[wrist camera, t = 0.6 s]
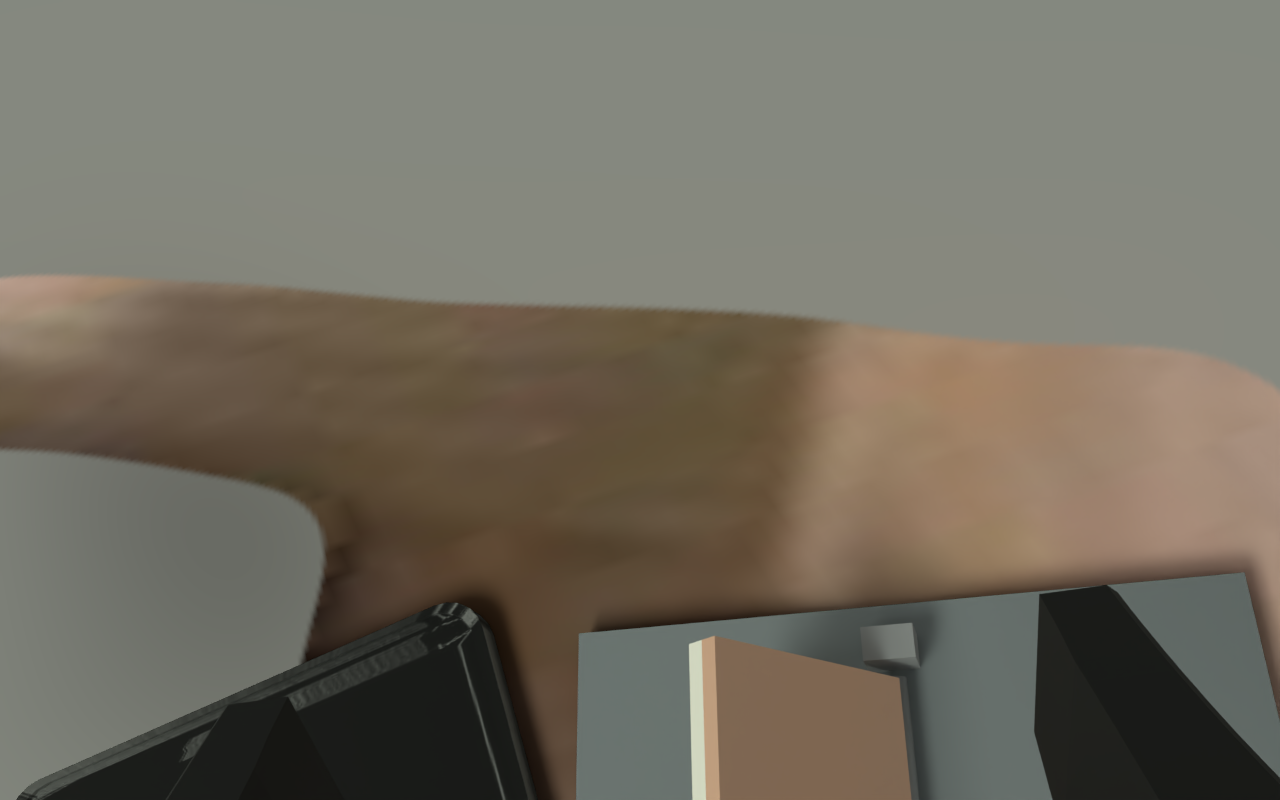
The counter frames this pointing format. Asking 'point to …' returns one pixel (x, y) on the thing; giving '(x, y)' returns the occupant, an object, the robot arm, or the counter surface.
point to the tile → (796, 727)
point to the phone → (357, 722)
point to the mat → (914, 683)
